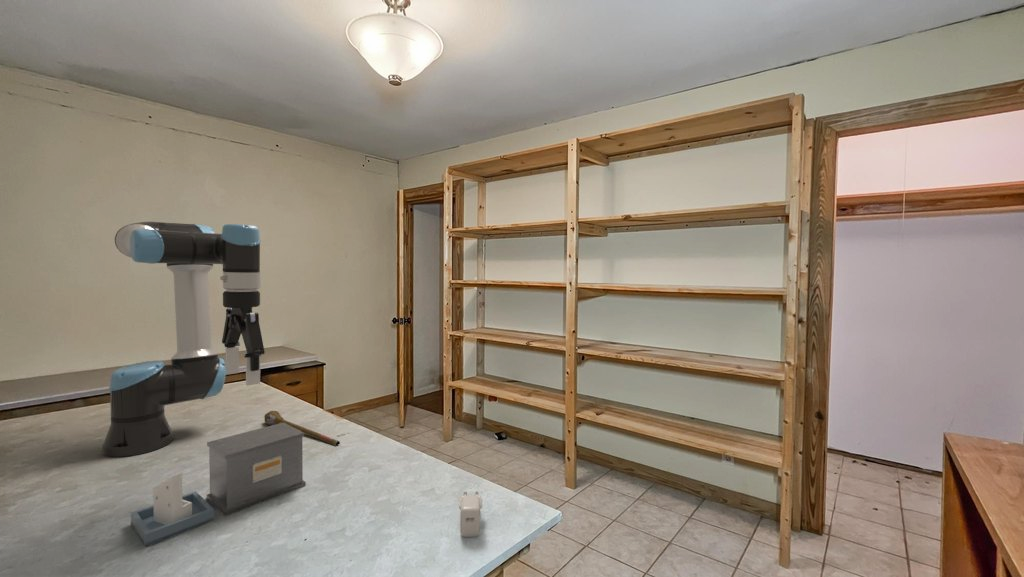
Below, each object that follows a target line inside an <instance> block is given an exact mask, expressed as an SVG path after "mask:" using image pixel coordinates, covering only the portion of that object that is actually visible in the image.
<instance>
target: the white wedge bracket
mask: <svg viewBox="0 0 1024 577" xmlns="http://www.w3.org/2000/svg"><path fill="white" fill-rule="evenodd" d="M152 496H153V497H152V498H153V500H152V502H153V504H152V506H153V509H154V521H155V522H158V523H161V524H164V525H167V524H169V523H172V522H175V521H178V520H180V519H183V518H186V517H189V516H191V515H192V502H189V501H186V500H182V496H183V473H182V472H181V473H180V474H177V475H174V476H172V477H170V478H168V479H167V480H165V481H163V482H161V483H160V484H158V485H156V486H154V487H153V488H152Z"/></svg>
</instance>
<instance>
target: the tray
mask: <svg viewBox="0 0 1024 577" xmlns="http://www.w3.org/2000/svg"><path fill="white" fill-rule="evenodd" d="M182 500H186V501H189V502H192V515H191V516H189V517H186V518H183V519H180V520H178V521H175V522H172V523H169V524H167V525H164V524H161V523H158V522H155V521H154V509H153V505H151V506H148V507H143V508H140V509H138V510H135V511H132V512H130V524H131V526H132V528H133V530H134V531H135V532H136V534H137V535H138V537H139V539H140V540H141V543H142V544H143V546H144V547H149V546H152V545H154V544H157V543H159V542H162V541H165V540H167V539H170V538H173V537H176V536H178V535H180V534H183V533H185V532H188V531H191V530H193V529H195V528H199V527H201V526H203V525H206V524H208V523H212V522H213V521H215V509H214V508H213V507H212V506H211V505H210V504H209V503H208V502H207V500H205V499H204V498H203V497H202V496H201V494H200V493H198V492H197V491H192V492H190V493H187V494H182Z"/></svg>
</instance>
